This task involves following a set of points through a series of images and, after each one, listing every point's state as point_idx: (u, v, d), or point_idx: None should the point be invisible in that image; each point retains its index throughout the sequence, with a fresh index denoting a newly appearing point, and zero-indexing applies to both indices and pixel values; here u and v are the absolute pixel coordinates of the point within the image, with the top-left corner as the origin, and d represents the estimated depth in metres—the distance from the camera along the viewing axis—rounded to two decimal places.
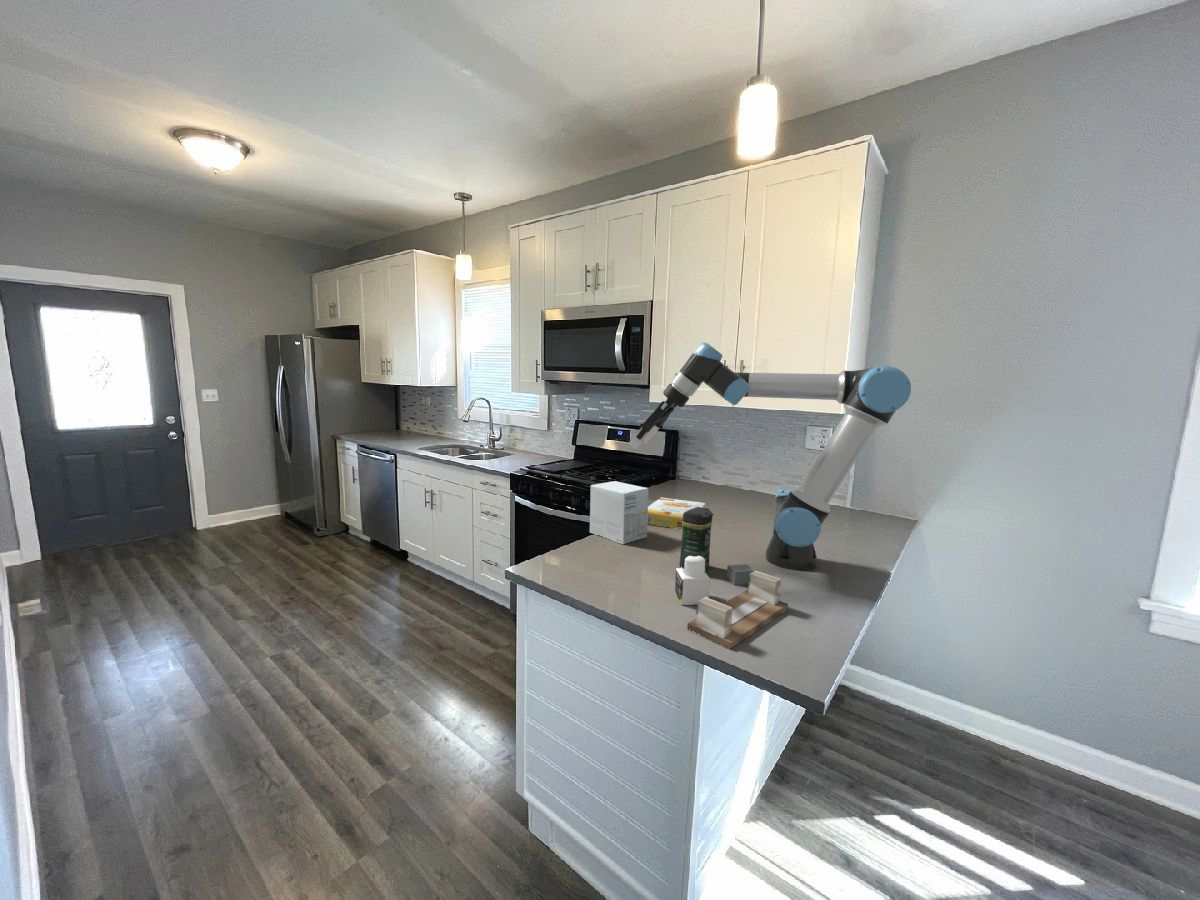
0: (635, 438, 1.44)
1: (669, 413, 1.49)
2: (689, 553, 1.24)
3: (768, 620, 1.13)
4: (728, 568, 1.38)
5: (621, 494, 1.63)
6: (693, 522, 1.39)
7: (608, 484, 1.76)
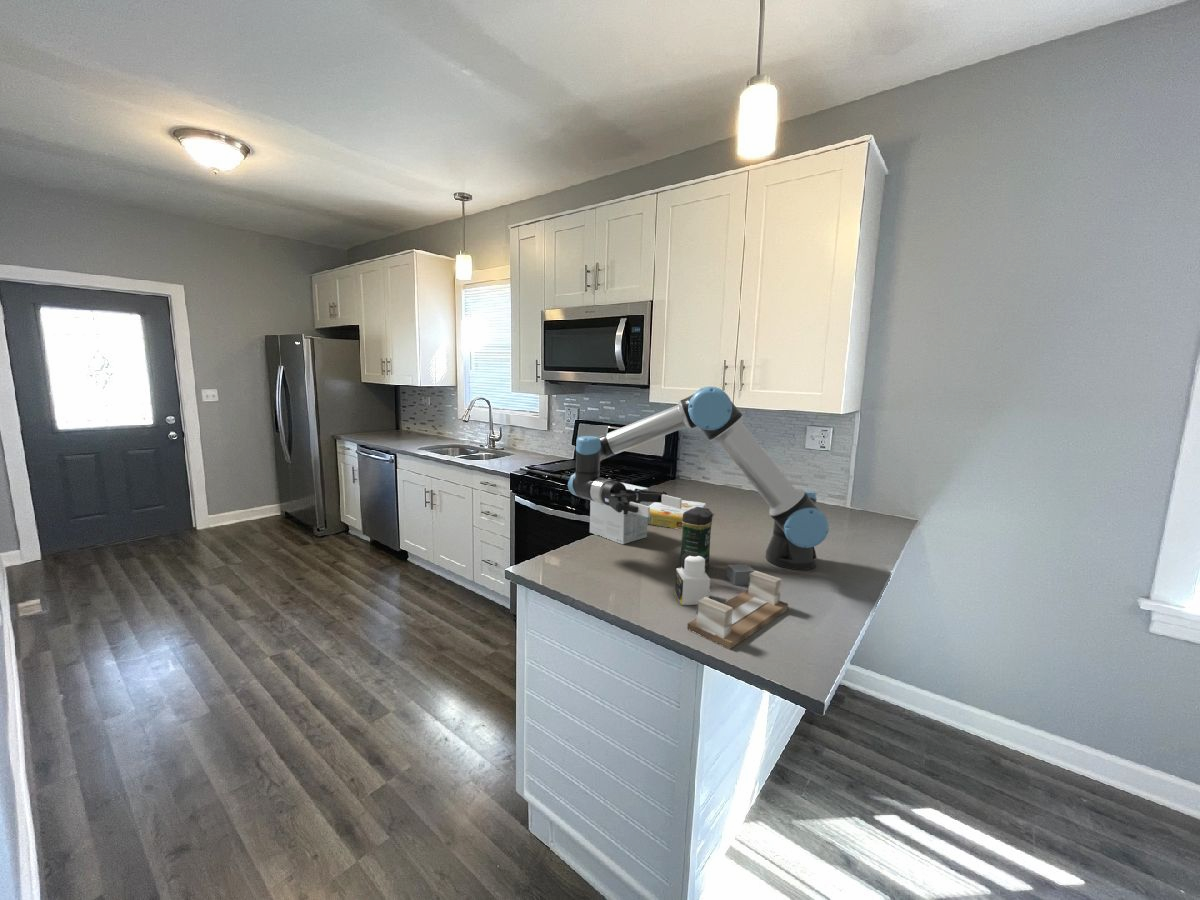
0: (640, 512, 1.26)
1: (632, 491, 1.39)
2: (689, 553, 1.24)
3: (768, 620, 1.13)
4: (728, 568, 1.38)
5: None
6: (693, 522, 1.39)
7: None
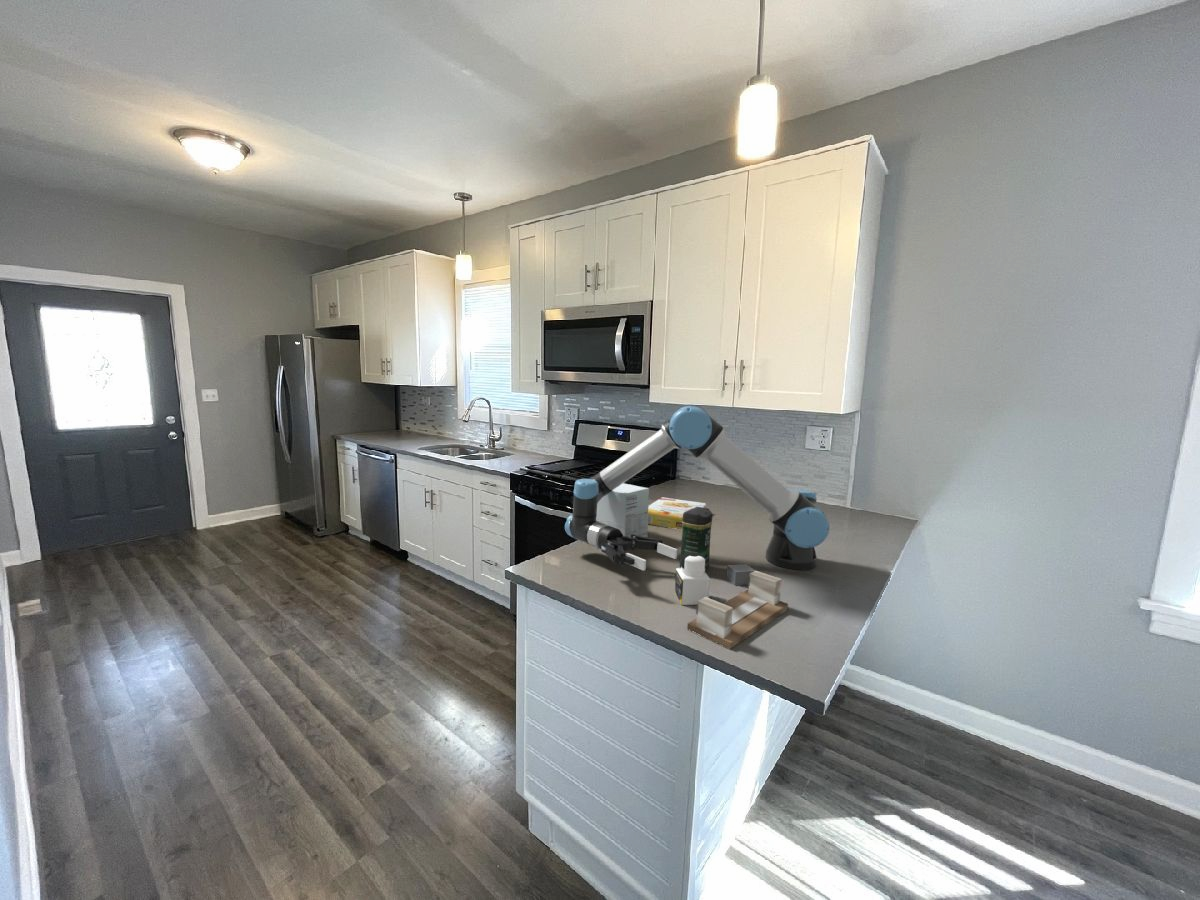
0: (636, 565, 1.27)
1: (629, 538, 1.41)
2: (689, 553, 1.24)
3: (768, 620, 1.13)
4: (728, 568, 1.38)
5: (622, 494, 1.63)
6: (693, 522, 1.39)
7: None
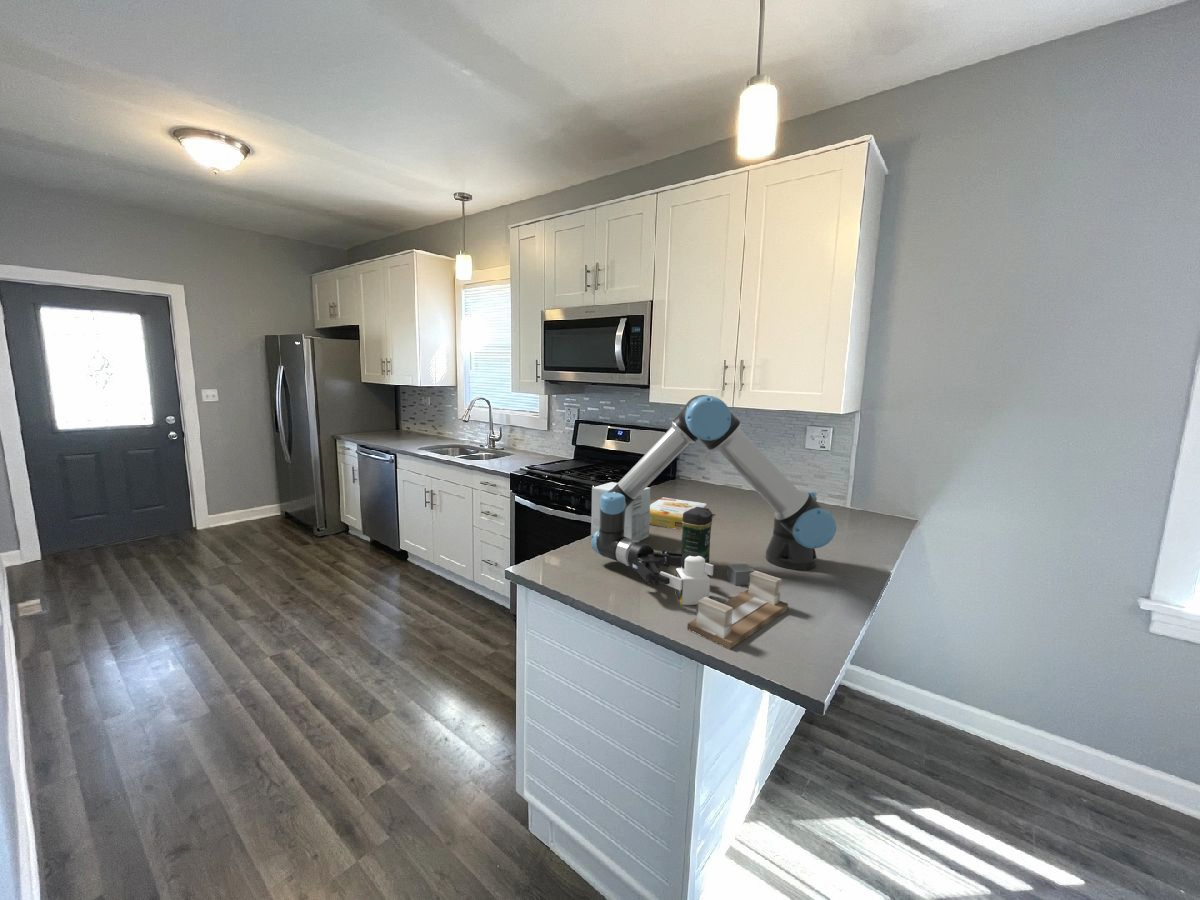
0: (671, 584, 1.20)
1: (660, 555, 1.33)
2: (689, 553, 1.24)
3: (768, 620, 1.13)
4: (728, 568, 1.38)
5: None
6: (693, 522, 1.39)
7: (608, 485, 1.74)
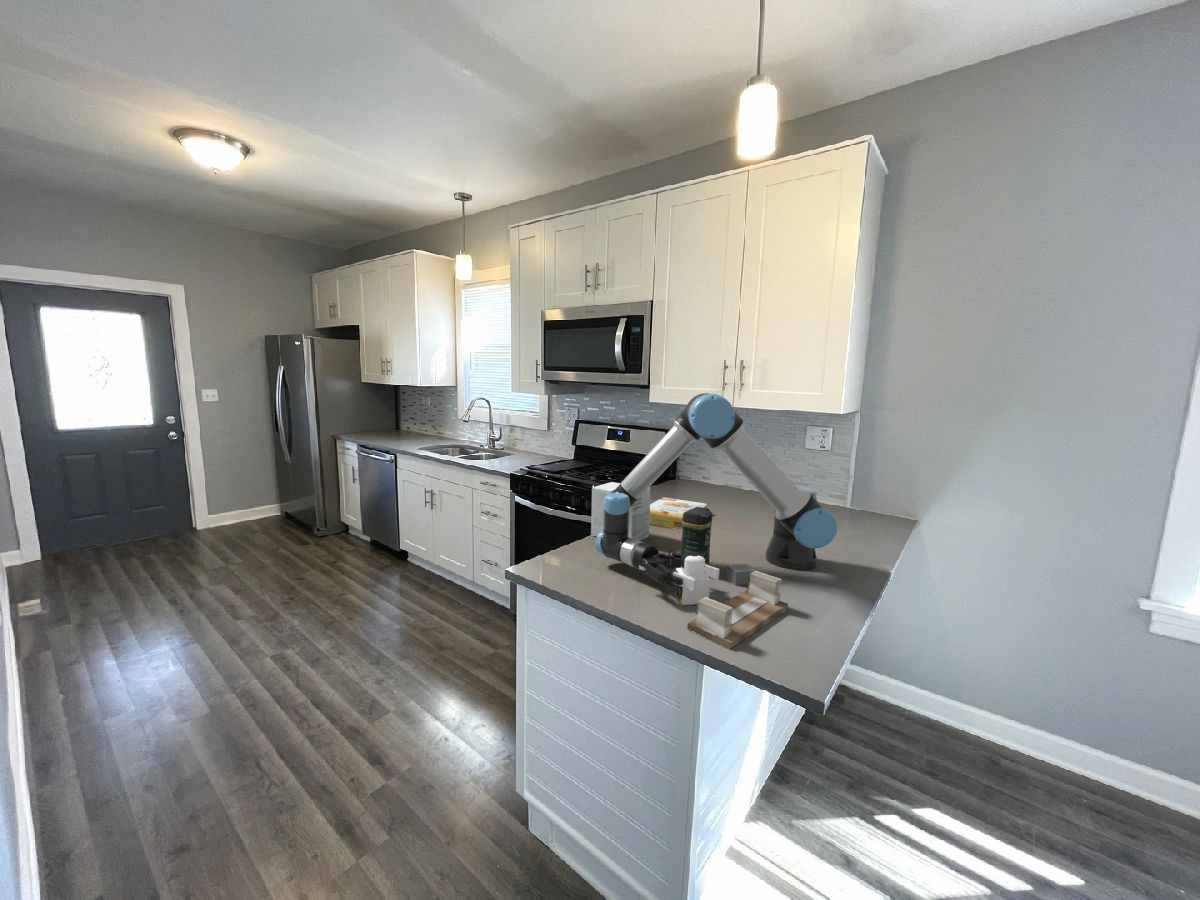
0: (684, 585, 1.19)
1: (665, 556, 1.32)
2: (689, 553, 1.24)
3: (768, 620, 1.13)
4: (728, 568, 1.38)
5: None
6: (693, 522, 1.39)
7: (608, 485, 1.74)
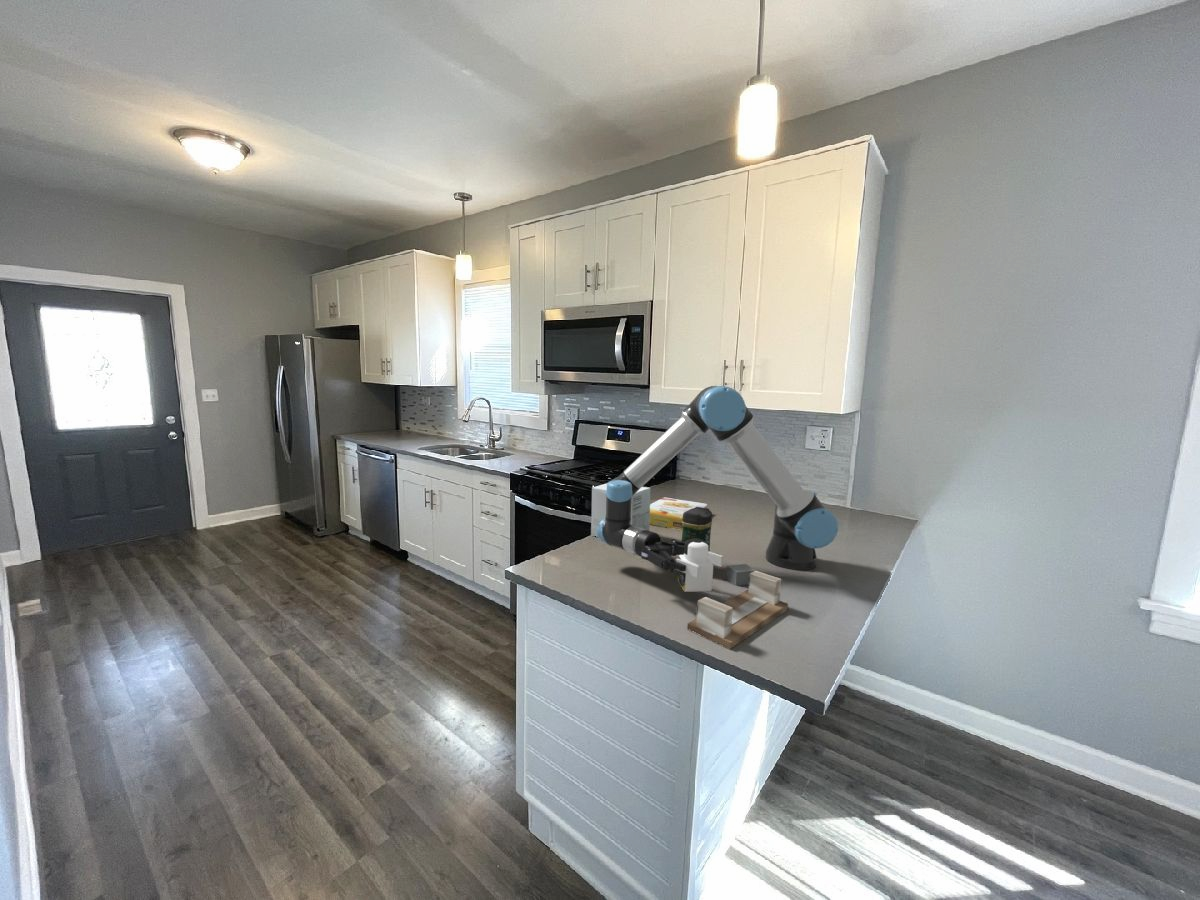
0: (688, 571, 1.18)
1: (668, 543, 1.31)
2: (692, 539, 1.23)
3: (768, 620, 1.13)
4: (728, 568, 1.38)
5: None
6: (693, 522, 1.39)
7: None
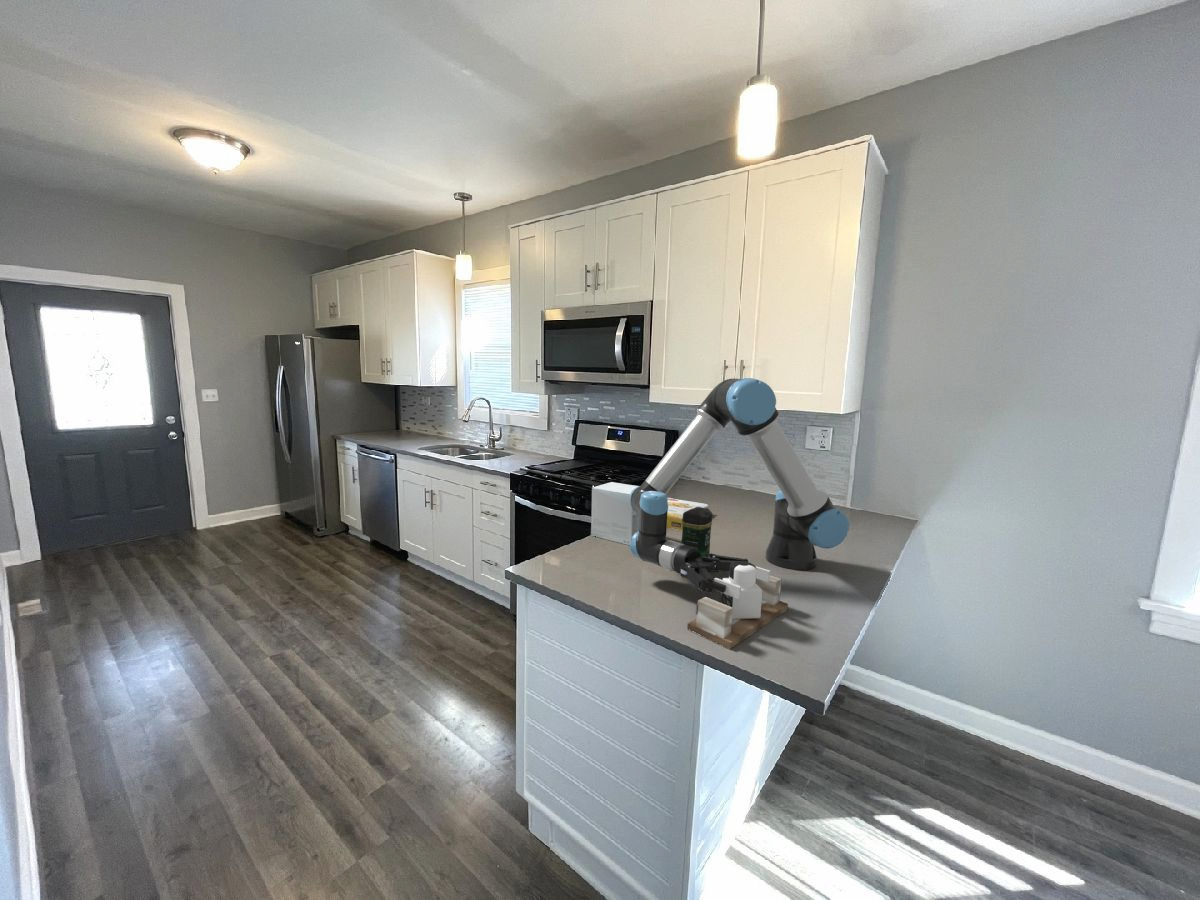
0: (728, 592, 1.08)
1: (710, 559, 1.22)
2: (738, 562, 1.14)
3: (768, 620, 1.13)
4: None
5: (629, 495, 1.62)
6: (693, 522, 1.39)
7: (608, 485, 1.74)
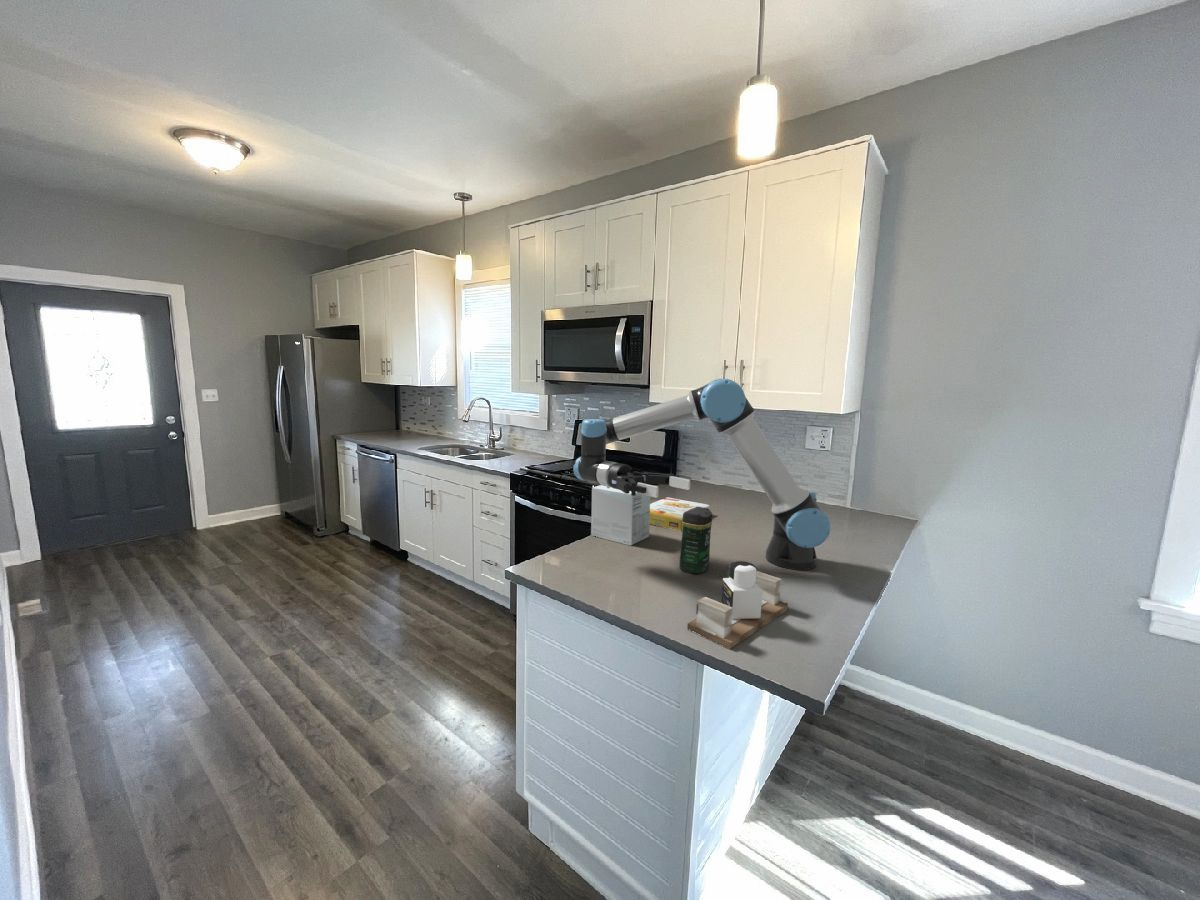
0: (648, 493, 1.23)
1: (640, 473, 1.36)
2: (738, 562, 1.14)
3: (768, 620, 1.13)
4: (728, 569, 1.37)
5: (629, 495, 1.62)
6: (693, 522, 1.39)
7: None
